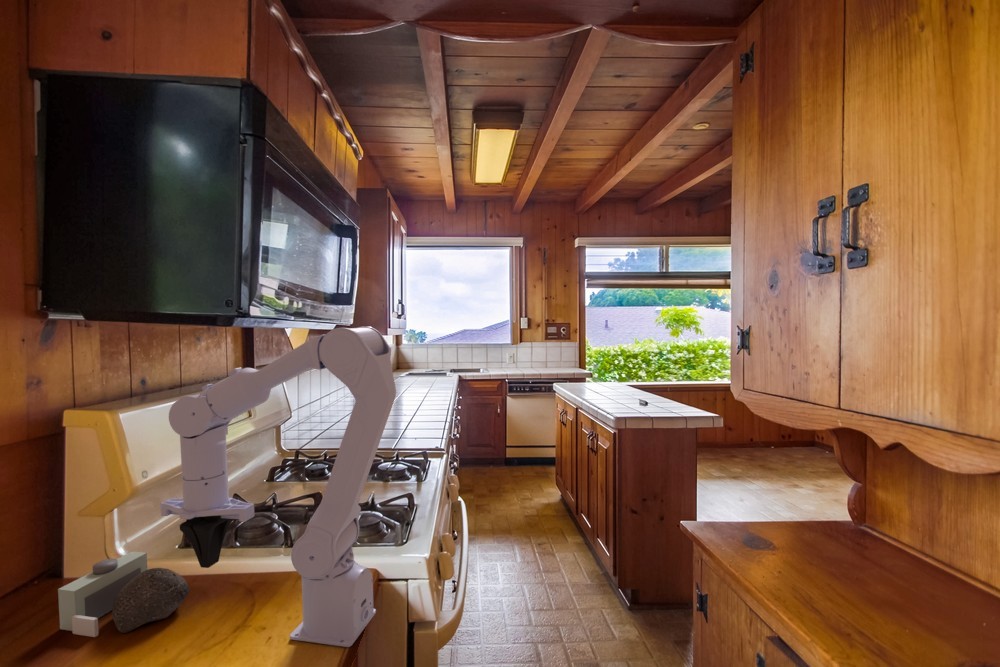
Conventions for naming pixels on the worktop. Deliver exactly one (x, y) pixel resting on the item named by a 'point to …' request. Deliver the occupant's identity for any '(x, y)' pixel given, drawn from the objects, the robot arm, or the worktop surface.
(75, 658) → the worktop surface
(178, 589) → the stone
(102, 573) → the digital alarm clock
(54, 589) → the worktop surface
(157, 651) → the worktop surface
